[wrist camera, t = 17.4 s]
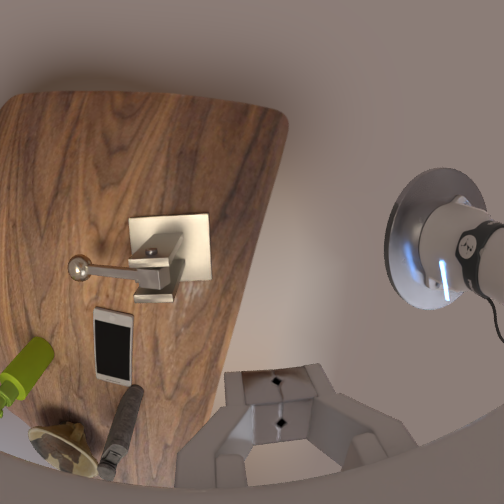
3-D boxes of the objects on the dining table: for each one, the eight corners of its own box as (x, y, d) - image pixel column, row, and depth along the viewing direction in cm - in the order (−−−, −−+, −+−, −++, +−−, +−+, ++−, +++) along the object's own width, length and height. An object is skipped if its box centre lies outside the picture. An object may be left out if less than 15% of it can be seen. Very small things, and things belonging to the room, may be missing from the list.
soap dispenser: (30, 328, 45) (-24, 385, 26) (57, 348, 47) (9, 413, 28) (24, 347, 46) (-24, 404, 27) (50, 366, 48) (7, 430, 29)
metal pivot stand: (137, 280, 45) (107, 323, 31) (130, 217, 43) (93, 237, 29) (212, 277, 47) (210, 322, 32) (208, 212, 44) (204, 231, 30)
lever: (82, 275, 38) (65, 283, 34) (78, 250, 37) (60, 257, 33) (173, 286, 34) (158, 298, 31) (171, 256, 33) (154, 265, 30)
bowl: (55, 391, 49) (38, 419, 40) (119, 438, 54) (111, 469, 45) (32, 419, 51) (18, 443, 42) (88, 459, 56) (79, 485, 46)
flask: (111, 421, 52) (90, 483, 35) (128, 380, 50) (104, 450, 33) (126, 428, 53) (109, 491, 36) (145, 388, 51) (127, 459, 33)
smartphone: (133, 315, 47) (132, 317, 46) (132, 384, 50) (130, 387, 49) (94, 306, 46) (93, 308, 45) (97, 376, 49) (96, 378, 48)
